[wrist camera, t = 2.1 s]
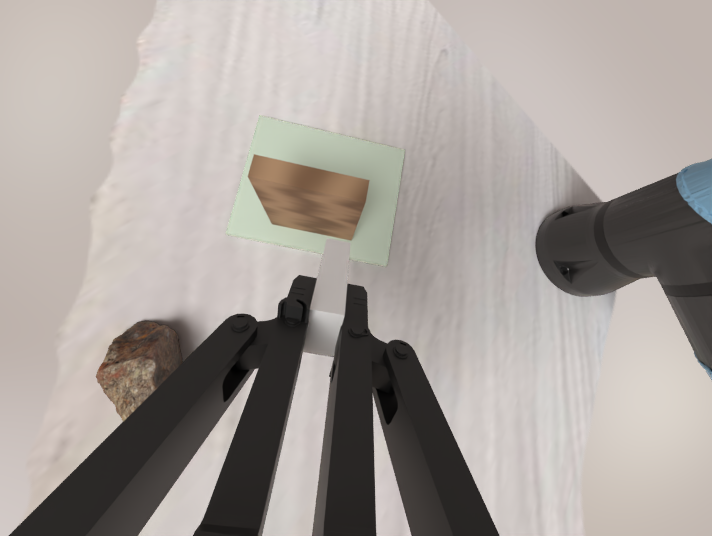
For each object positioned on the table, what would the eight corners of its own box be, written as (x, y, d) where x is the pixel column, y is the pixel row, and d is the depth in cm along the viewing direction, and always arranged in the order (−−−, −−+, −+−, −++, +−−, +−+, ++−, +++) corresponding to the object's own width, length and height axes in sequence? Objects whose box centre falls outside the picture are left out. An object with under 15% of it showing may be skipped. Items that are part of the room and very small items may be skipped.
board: (354, 225, 43) (369, 180, 29) (351, 240, 42) (365, 202, 29) (275, 208, 42) (253, 154, 28) (271, 224, 41) (247, 176, 28)
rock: (197, 314, 40) (119, 326, 38) (163, 306, 31) (63, 321, 30) (201, 426, 36) (115, 444, 35) (164, 450, 28) (50, 475, 26)
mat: (403, 152, 47) (405, 149, 46) (385, 266, 43) (387, 265, 42) (260, 118, 45) (259, 115, 44) (227, 235, 41) (225, 233, 40)
